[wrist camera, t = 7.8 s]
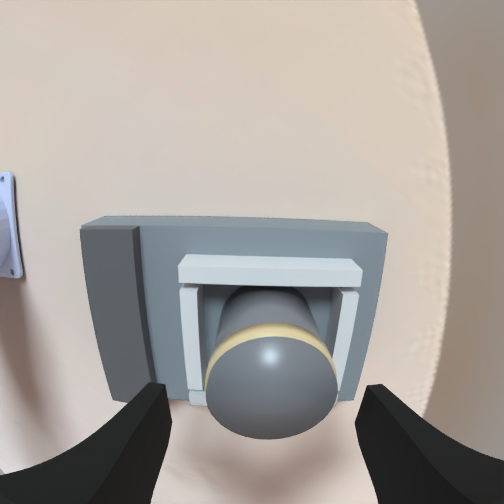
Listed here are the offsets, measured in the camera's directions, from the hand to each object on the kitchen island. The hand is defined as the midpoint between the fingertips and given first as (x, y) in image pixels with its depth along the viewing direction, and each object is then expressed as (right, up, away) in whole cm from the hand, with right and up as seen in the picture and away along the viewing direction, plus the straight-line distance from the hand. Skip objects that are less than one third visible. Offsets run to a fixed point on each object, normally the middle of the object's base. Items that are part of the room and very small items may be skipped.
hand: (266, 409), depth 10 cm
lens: (0, +2, +6) cm, 6 cm away
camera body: (-2, +2, +9) cm, 10 cm away
